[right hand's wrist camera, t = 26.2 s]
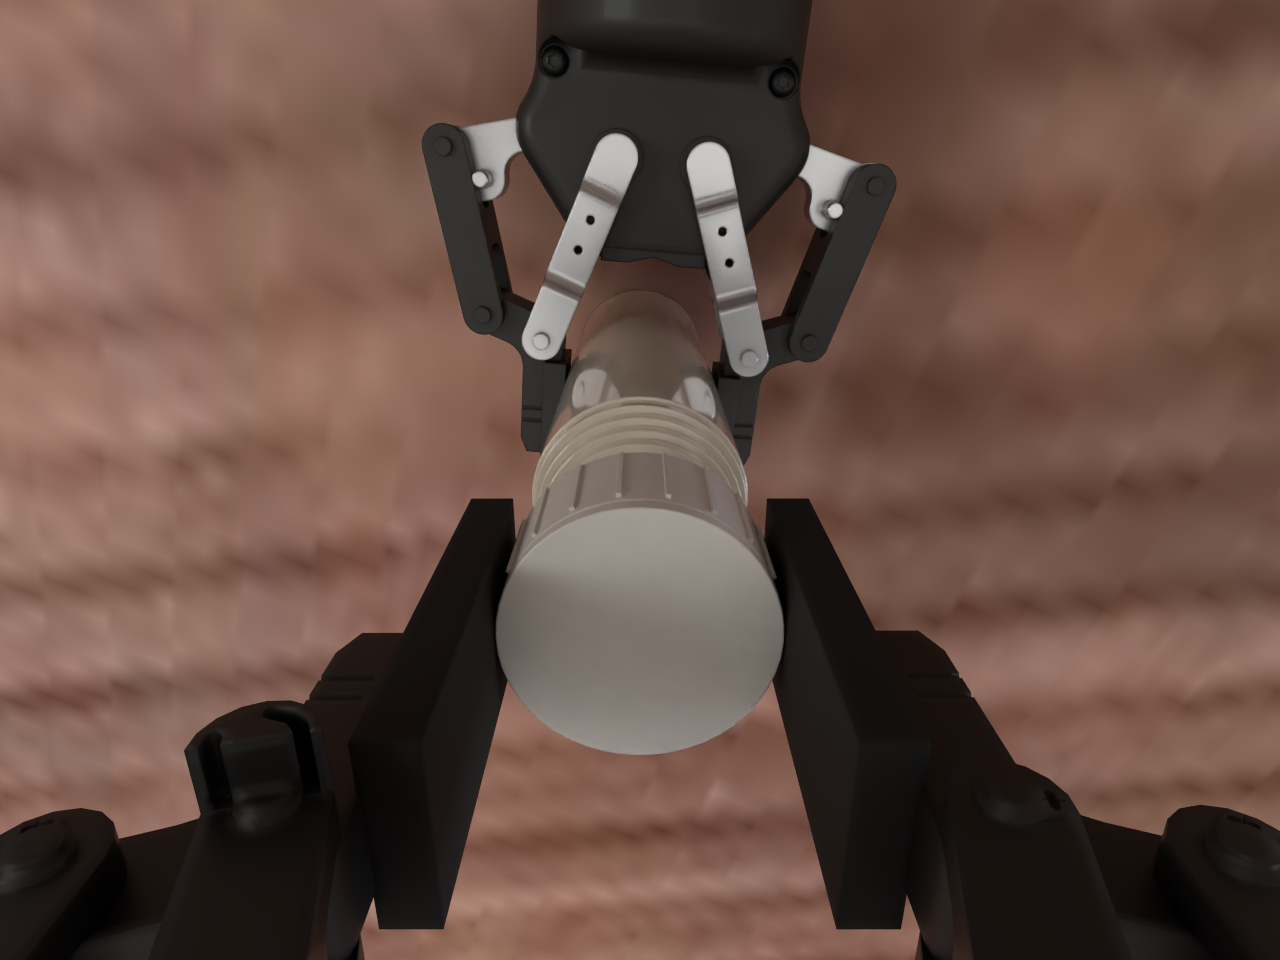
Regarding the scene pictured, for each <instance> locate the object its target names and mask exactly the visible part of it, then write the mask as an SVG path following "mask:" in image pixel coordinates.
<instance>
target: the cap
mask: <svg viewBox="0 0 1280 960" xmlns="http://www.w3.org/2000/svg"><path fill="white" fill-rule="evenodd" d="M505 572H506V573H508V576H507V579H506V582H505V586H504V589H503V592H502V595H501V598H500V601H499V604H498V610H497V616H496V631H495V637H496V645H497V652H498V656H499V659H500V663H501V666H502V669H503V671H504V673H505V676H506V678H507V680H508V682H509V684H510V686H511V687H512V689H513V690H514V692H515V694H516V695H517V697H518V698H519V699H520V700H521V702H522V703H523V704H524V705H525V706H526V708H527V709H528V710H529V711H530V712H531V713H532V714H533V715H535V716H536V717H537V718H538V719H539V720H540V721H541V722H543V723H544V724H545V725H547V726H548V727H550V728H551V729H552V730H554V731H555V732H557V733H559V734H561V735H563V736H565V737H566V738H568V739H570V740H573V741H575V742H577V743H580V744H582V745H585V746H588V747H591V748H595V749H598V750H602V751H607V752H613V753H618V754H631V755H649V754H660V753H667V752H674V751H677V750H681V749H685V748H689V747H692V746H695V745H697V744H700V743H703V742H705V741H707V740H709V739H711V738H713V737H715V736H717V735H719V734H721V733H723V732H724V731H726V730H727V729H729V728H730V727H732V726H733V725H735V724H736V723H737V722H738V721H739V720H741V719H742V718H743V717H744V716H745V715H747V714H748V713H749V712H750V710H751V709H752V708H753V707H754V706H755V705H756V704H757V703H758V702H759V700H760V699H761V698H762V696H763V695H764V693H765V692H766V690H767V689H768V687H769V685H770V683H771V681H772V679H773V677H774V675H775V674H776V671H777V668H778V665H779V662H780V659H781V655H782V650H783V644H784V618H783V610H782V606H781V603H780V599H779V596H778V592H777V589H776V586H775V583H774V579H776V578H777V577H776V574H775V571H774V568H773V565H772V562H771V559H770V556H769V553H768V550H767V547H766V544H765V541H764V538H763V535H762V532H761V529H760V526H759V525H758V526H756V525H755V523H754V520H753V518H752V516H751V514H750V512H749V511H748V509H747V508H746V506H745V505H744V503H743V501H742V498H741V495H740V494H739V493H738V492H737V493H735V492H734V491H733V490H732V489H731V488H730V487H729V486H728V485H727V484H726V483H724V482H723V481H722V480H721V479H720V478H718V477H717V476H715V475H714V474H712V473H711V472H709V469H708V468H706V467H704V468H702V467H700V466H698V465H696V464H694V463H692V462H689V461H686V460H683V459H680V458H677V457H673V456H669V455H668V454H667V453H663V454H658V453H646V452H637V453H624V452H619V454H616V455H611V456H606V457H603V458H600V459H596V460H593V461H591V462H588V463H586V464H584V465H582V464H579V465H578V466H577V468H576V469H574V470H572V471H571V472H569V473H567V474H566V475H564V476H563V477H562V478H560V479H559V480H558V481H557V482H555V483H554V484H553V485H552V486H551V487H550V488H549V489H548V488H547V487H546V488H545V489H544V491H543V494H542V496H541V497H540V499H539V500H538V502H537V503H536V504H535V506H534V507H533V509H532V510H531V512H530V514H529V516H528V518H527V520H523V521H522V523H521V526H520V529H519V532H518V535H517V538H516V541H515V544H514V547H513V550H512V553H511V556H510V559H509V562H508V565H507V568H506V571H505Z"/></svg>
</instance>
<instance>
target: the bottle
mask: <svg viewBox="0 0 1280 960" xmlns="http://www.w3.org/2000/svg"><path fill="white" fill-rule="evenodd" d="M619 452H624V453H637V452H646V453H658V454H663V453H667V454H668V455H669V456H673V457H677V458H680V459H683V460H686V461H689V462H692V463H694V464H696V465H698V466H700V467H702V468H704V467H706V468H708V469H709V472H711V473H712V474H714V475H715V476H717V477H718V478H720V479H721V480H722V481H723V482H724V483H726V484H727V485H728V486H729V487H730V488H731V489H732V490H733V491H734V492H735V493H737V492H738V493H739V494H740V495H741V498H742V501H743V503H744V505H745V506H746V508H747V505H748V486H747V479H746V474H745V471H744V467H743V464H742V461H741V458H740V455H739V452H738V449H737V446H736V443H735V441H734V438H733V435H732V432H731V429H730V426H729V423H728V420H727V417H726V414H725V411H724V408H723V406H722V403H721V400H720V397H719V394H718V391H717V388H716V385H715V382H714V379H713V376H712V374H711V371H710V368H709V365H708V362H707V359H706V356H705V353H704V350H703V347H702V344H701V341H700V339H699V336H698V333H697V330H696V327H695V325H694V323H693V321H692V319H691V318H690V316H689V315H688V313H687V312H686V311H685V310H684V309H683V308H682V307H681V306H680V305H679V304H678V303H676V302H675V301H674V300H672V299H670V298H669V297H667V296H665V295H662V294H659V293H657V292H652V291H644V290H636V291H628V292H624V293H621V294H618V295H616V296H614V297H612V298H610V299H608V300H607V301H605V302H604V303H602V304H601V305H600V306H599V307H598V308H597V309H596V310H595V311H594V312H593V314H592V315H591V316H590V318H589V320H588V321H587V323H586V325H585V328H584V330H583V333H582V336H581V339H580V342H579V345H578V348H577V351H576V354H575V356H574V359H573V362H572V365H571V368H570V371H569V374H568V377H567V380H566V383H565V385H564V388H563V391H562V394H561V397H560V400H559V403H558V406H557V409H556V412H555V415H554V417H553V420H552V423H551V426H550V429H549V432H548V435H547V438H546V441H545V444H544V446H543V449H542V452H541V455H540V458H539V461H538V464H537V467H536V470H535V473H534V479H533V485H532V505H533V507H534V506H535V504H536V503H537V502H538V500H539V499H540V497H541V496H542V494H543V491H544V489H545V488H546V487H547V488H548V489H549V488H550V487H551V486H552V485H553V484H554V483H555V482H557V481H558V480H559V479H560V478H562V477H563V476H564V475H566V474H567V473H569V472H571V471H572V470H574V469H576V468H577V466H578V465H579V464H582V465H584V464H586V463H588V462H591V461H593V460H596V459H600V458H603V457H606V456H611V455H616V454H619Z"/></svg>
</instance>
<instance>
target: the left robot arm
mask: <svg viewBox="0 0 1280 960" xmlns="http://www.w3.org/2000/svg"><path fill="white" fill-rule="evenodd" d="M811 6H812V0H538V7H537V40H536V64H535V71H534V75H533V79H532V82H531V85H530V87H529V90H528V92H527V94H526V95H525V97H524V99H523V101H522V102H521V104H520V106H519V109H518V112H517V115H516V118H511V119H505V120H500V121H494V122H489V123H483V124H478V125H472V126H467V127H459V126H455V125H450V124H445V123H438V124H434V125H432V126H431V127H429V128H428V129H427V130H426V132H425V134H424V136H423V139H422V149H423V154H424V158H425V162H426V166H427V170H428V174H429V178H430V182H431V186H432V191H433V195H434V199H435V203H436V207H437V211H438V215H439V219H440V223H441V227H442V231H443V235H444V240H445V244H446V248H447V252H448V256H449V260H450V264H451V268H452V272H453V276H454V280H455V284H456V289H457V293H458V297H459V301H460V305H461V309H462V313H463V317H464V320H465V323H466V324H467V326H468V327H469V328H470V329H471V330H472V331H474V332H476V333H478V334H483V335H485V334H490V335H493V336H495V337H497V338H499V339H501V340H504V341H506V342H508V343H510V344H511V345H513V346H514V347H515V348H516V349H517V350H518V352H519V353H520V355H521V358H522V361H523V384H522V420H521V438H522V440H523V443H524V446H525V448H526V451H532V452H540V455H541V452H542V449H543V446H544V444H545V441H546V438H547V435H548V432H549V429H550V426H551V423H552V420H553V417H554V415H555V412H556V409H557V406H558V403H559V400H560V397H561V394H562V391H563V388H564V385H565V383H566V380H567V377H568V374H569V371H570V368H571V352H572V349H565V347H566V333H567V331H568V328H569V326H570V324H571V321H572V319H573V316H574V314H575V312H576V309H577V307H578V305H579V302H580V300H581V298H582V295H583V293H584V290H585V288H586V286H587V283H588V281H589V279H590V276H591V274H592V272H593V269H594V267H595V264H596V262H597V260H598V257H599V256H600V257H601V260H605V261H617V262H631V261H636V260H641V259H647V258H657V259H659V260H662V261H665V262H667V263H670V264H673V265H675V266H678V267H687V268H698V269H704V272H705V277H706V281H707V285H708V289H709V293H710V296H711V300H712V304H713V308H714V312H715V317H716V321H717V325H718V330H719V334H720V338H721V343H722V346H721V354H720V362H713V365H712V373H711V374H712V376H713V379H714V382H715V385H716V388H717V391H718V394H719V397H720V400H721V403H722V406H723V408H724V411H725V414H726V417H727V420H728V423H729V426H730V429H731V432H732V435H733V438H734V441H735V443H736V446H737V449H738V452H739V455H740V458H741V461H742V464H743V466H744V464H745V462H746V461H747V459H748V457H749V456H750V451H751V444H752V437H753V430H754V423H755V416H756V409H757V402H758V395H759V388H760V383H761V380H762V378H763V376H764V375H765V374H766V373H767V372H768V371H769V370H770V369H771V368H773V367H775V366H778V365H781V364H785V363H789V362H792V361H796V360H800V361H803V362H813V361H816V360H818V359H819V358H821V357H822V356H823V355H824V354H825V352H826V350H827V348H828V346H829V344H830V341H831V339H832V337H833V334H834V332H835V330H836V328H837V325H838V323H839V321H840V318H841V316H842V314H843V311H844V309H845V307H846V304H847V302H848V300H849V297H850V295H851V293H852V290H853V288H854V286H855V283H856V281H857V279H858V277H859V274H860V272H861V270H862V267H863V265H864V263H865V260H866V258H867V256H868V253H869V251H870V249H871V246H872V244H873V242H874V239H875V237H876V235H877V233H878V230H879V228H880V226H881V223H882V221H883V219H884V216H885V214H886V212H887V209H888V207H889V205H890V202H891V200H892V198H893V195H894V193H895V190H896V178H895V175H894V173H893V171H892V170H891V169H890V168H889V167H887V166H886V165H883V164H876V163H858V162H855V161H853V160H850V159H848V158H845V157H842V156H840V155H837V154H834V153H832V152H829V151H826V150H824V149H821V148H819V147H816V146H813V145H811V144H810V137H809V132H808V129H807V126H806V124H805V121H804V118H803V114H802V109H801V102H800V85H801V77H802V70H803V63H804V56H805V49H806V41H807V34H808V27H809V20H810V13H811ZM521 153H524V155H525V156H526V158H527V160H528V161H529V163H530V165H531V166H532V168H533V170H534V171H535V173H536V175H537V176H538V178H539V179H540V181H541V183H542V184H543V186H544V188H545V189H546V191H547V193H548V194H549V196H550V197H551V199H552V201H553V202H554V204H555V206H556V207H557V209H558V211H559V212H560V214H561V215H562V217H563V219H564V220H565V222H566V225H565V227H564V230H563V232H562V235H561V237H560V239H559V242H558V244H557V247H556V249H555V252H554V254H553V257H552V259H551V262H550V264H549V267H548V269H547V272H546V275H545V278H544V281H543V284H542V287H541V289H540V292H539V294H538V297H537V299H536V302H535V303H534V302H531V301H529V300H527V299H525V298H523V297H520V296H518V295H516V294H514V293H513V291H512V287H511V282H510V278H509V273H508V269H507V264H506V260H505V255H504V250H503V246H502V241H501V237H500V232H499V228H498V223H497V219H496V214H495V209H494V205H493V200H492V199H496V198H499V197H501V196H502V195H503V194H504V193H505V192H506V191H507V189H508V187H509V181H510V178H509V169H510V165H511V163H512V161H513V160H514V158H515V157H516V156H518V155H519V154H521ZM796 178H798V179H799V180H800V181H801V182H802V183H803V185H804V187H805V191H806V200H805V204H804V215H805V217H806V219H807V221H808V222H809V223H810V224H811V225H812V226H814V227H816V230H815V232H814V235H813V237H812V240H811V242H810V245H809V247H808V250H807V252H806V255H805V257H804V260H803V262H802V265H801V267H800V270H799V272H798V275H797V277H796V280H795V282H794V285H793V287H792V289H791V292H790V294H789V297H788V299H787V302H786V304H785V307H784V309H783V312H782V314H781V316H778V317H775V318H771V319H767V320H764V321H761V318H760V313H759V308H758V303H757V291H756V285H755V281H754V276H753V271H752V266H751V262H750V257H749V252H748V247H747V243H746V238H745V236H746V235H747V234H748V233H749V232H750V231H751V230H752V228H753V227H754V226H755V225H756V224H757V223H758V222H759V220H760V219H761V218H762V217H763V216H764V215H765V214H766V212H767V211H768V210H769V209H770V208H771V207H772V206H773V204H774V203H775V202H776V201H777V200H778V199H779V198H780V196H781V195H782V194H783V193H784V192H785V191H786V189H787V188H788V187H789V186H790V185H791V184H792V183H793V181H794V180H795V179H796Z"/></svg>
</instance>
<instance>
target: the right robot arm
mask: <svg viewBox="0 0 1280 960" xmlns="http://www.w3.org/2000/svg"><path fill="white" fill-rule="evenodd" d="M515 541H516V538H515V523H514V507H513V499H471V501H470V502H469V504H468V506H467V508H466V510H465V512H464V514H463V516H462V518H461V520H460V522H459V524H458V526H457V528H456V530H455V532H454V534H453V536H452V538H451V540H450V542H449V544H448V546H447V548H446V550H445V552H444V554H443V556H442V558H441V560H440V562H439V564H438V566H437V568H436V570H435V571H434V573H433V575H432V577H431V579H430V581H429V583H428V585H427V587H426V589H425V591H424V593H423V595H422V597H421V599H420V601H419V603H418V605H417V607H416V609H415V611H414V613H413V615H412V617H411V619H410V621H409V623H408V625H407V627H406V629H405V631H404V633H362V634H360V635H359V636H358V637H356V638H355V639H354V640H352V641H351V642H350V643H348V644H347V645H346V646H344V647H343V648H342V649H340V650H339V651H338V652H337V653H336V654H335V655H334V657H333V658H332V660H331V662H330V663H329V665H328V666H327V668H326V670H325V671H324V673H323V674H322V679H321V681H318V682H317V684H316V686H315V687H314V689H313V690H312V692H311V694H310V698H309V700H306V702H305V703H304V704H302V703H298V702H294V701H265V702H261V703H257V704H253V705H249V706H244V707H241V708H239V709H236V710H234V711H232V712H230V713H228V714H225V715H223V716H221V717H219V718H217V719H215V720H214V721H213V722H211V723H210V724H209V725H207V726H206V727H205V728H203V729H202V730H201V731H199V732H198V733H197V734H196V735H195V736H194V738H193V739H192V740H191V742H190V743H189V744H188V746H187V747H186V749H185V750H184V753H185V756H186V760H187V764H188V768H189V771H190V775H191V779H192V783H193V786H194V790H195V794H196V798H197V802H198V805H199V809H200V813H201V815H200V817H199V819H196V820H192V821H189V822H186V823H183V824H179V825H176V826H172V827H167V828H163V829H159V830H155V831H151V832H146V833H142V834H138V835H134V836H129V837H125V838H121V839H119V838H118V835H117V832H116V829H115V825H114V822H113V821H111V820H110V819H109V818H108V817H107V816H106V815H105V814H104V813H103V812H100V811H95V810H89V809H83V808H78V809H70V810H62V811H55V812H51V813H48V814H46V815H43V816H40V817H37V818H34V819H31V820H28V821H25V822H23V823H21V824H19V825H17V826H16V827H14V828H12V829H10V830H8V831H7V832H5V833H3V834H1V835H0V960H365V959H364V952H363V946H362V940H361V935H360V933H361V930H362V927H363V924H364V922H365V919H366V916H367V913H368V911H369V908H370V905H371V902H372V900H373V897H374V901H375V907H376V913H377V919H378V925H379V929H444V925H445V921H446V917H447V914H448V910H449V906H450V902H451V898H452V894H453V890H454V886H455V882H456V879H457V875H458V871H459V867H460V863H461V859H462V855H463V851H464V848H465V844H466V840H467V836H468V832H469V828H470V824H471V820H472V816H473V813H474V809H475V805H476V801H477V797H478V793H479V789H480V785H481V782H482V778H483V774H484V770H485V766H486V762H487V758H488V754H489V750H490V747H491V743H492V739H493V735H494V731H495V727H496V723H497V719H498V716H499V712H500V708H501V704H502V700H503V696H504V692H505V688H506V685H507V681H508V680H507V678H506V676H505V673H504V671H503V669H502V666H501V663H500V659H499V656H498V652H497V645H496V637H495V631H496V616H497V610H498V604H499V601H500V598H501V595H502V592H503V589H504V586H505V582H506V579H507V576H508V573H506V572H505V571H506V568H507V565H508V562H509V559H510V556H511V553H512V550H513V547H514V544H515ZM764 541H765V544H766V547H767V550H768V553H769V556H770V559H771V562H772V565H773V568H774V571H775V574H776V577H777V578H776V579H774V583H775V586H776V589H777V592H778V596H779V599H780V603H781V606H782V610H783V618H784V644H783V650H782V655H781V659H780V662H779V665H778V668H777V671H776V674H775V675H774V677H773V679H772V681H773V684H774V688H775V692H776V696H777V700H778V704H779V708H780V712H781V716H782V719H783V723H784V727H785V731H786V735H787V739H788V743H789V747H790V750H791V754H792V758H793V762H794V766H795V770H796V774H797V778H798V782H799V785H800V789H801V793H802V797H803V801H804V805H805V809H806V813H807V816H808V820H809V824H810V828H811V832H812V836H813V840H814V844H815V847H816V851H817V855H818V859H819V863H820V867H821V871H822V875H823V879H824V882H825V886H826V890H827V894H828V898H829V902H830V906H831V910H832V913H833V917H834V921H835V925H836V929H901V925H902V919H903V913H904V907H905V901H906V895H907V896H908V899H909V901H910V904H911V907H912V910H913V912H914V915H915V918H916V920H917V923H918V926H919V929H920V935H919V940H918V946H917V951H916V957H915V960H1280V831H1279V830H1277V829H1275V828H1273V827H1272V826H1270V825H1268V824H1266V823H1264V822H1262V821H1261V820H1259V819H1257V818H1254V817H1251V816H1248V815H1245V814H1242V813H1239V812H1236V811H1233V810H1231V809H1228V808H1221V807H1213V806H1205V805H1196V806H1191V807H1185V808H1179V809H1178V810H1177V811H1176V812H1175V813H1174V814H1173V815H1172V816H1170V817H1169V818H1168V819H1167V822H1166V826H1165V829H1164V832H1163V835H1162V836H1160V835H1156V834H1152V833H1148V832H1143V831H1139V830H1135V829H1131V828H1126V827H1122V826H1118V825H1113V824H1109V823H1105V822H1102V821H1098V820H1095V819H1092V818H1089V817H1085V816H1082V815H1080V813H1079V812H1078V810H1077V808H1076V807H1075V805H1074V804H1073V802H1072V800H1071V799H1070V797H1069V796H1068V794H1066V793H1065V792H1064V791H1063V790H1062V789H1061V788H1059V787H1058V786H1057V785H1056V784H1055V783H1053V782H1052V781H1051V780H1050V779H1049V778H1047V777H1045V776H1043V775H1041V774H1039V773H1037V772H1035V771H1033V770H1031V769H1029V768H1027V767H1025V766H1021V765H1017V764H1016V763H1015V762H1014V760H1013V759H1012V757H1011V755H1010V754H1009V752H1008V751H1007V749H1006V748H1005V746H1004V744H1003V743H1002V741H1001V740H1000V738H999V736H998V735H997V733H996V732H995V730H994V728H993V727H992V725H991V724H990V722H989V720H988V719H987V717H986V716H985V714H984V713H983V711H982V709H981V708H980V706H979V705H978V703H977V701H976V700H975V698H972V697H971V692H970V690H969V689H968V687H967V685H966V684H965V682H964V681H963V679H962V678H959V673H958V671H957V670H956V668H955V666H954V665H953V663H952V662H951V660H950V658H949V657H948V655H947V654H946V652H945V651H944V650H943V649H942V648H941V647H939V646H938V645H937V644H935V643H934V642H933V641H931V640H930V639H929V638H927V637H926V636H925V635H923V634H922V633H921V632H919V631H875V629H874V627H873V625H872V623H871V621H870V619H869V617H868V615H867V613H866V611H865V609H864V607H863V605H862V603H861V601H860V599H859V597H858V595H857V593H856V591H855V589H854V587H853V585H852V583H851V581H850V579H849V577H848V575H847V573H846V571H845V570H844V568H843V566H842V564H841V562H840V560H839V558H838V556H837V554H836V552H835V550H834V548H833V546H832V544H831V542H830V540H829V538H828V536H827V534H826V532H825V530H824V528H823V526H822V524H821V522H820V520H819V518H818V516H817V514H816V512H815V510H814V508H813V506H812V504H811V502H810V501H809V499H767V507H766V523H765V538H764Z"/></svg>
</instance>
